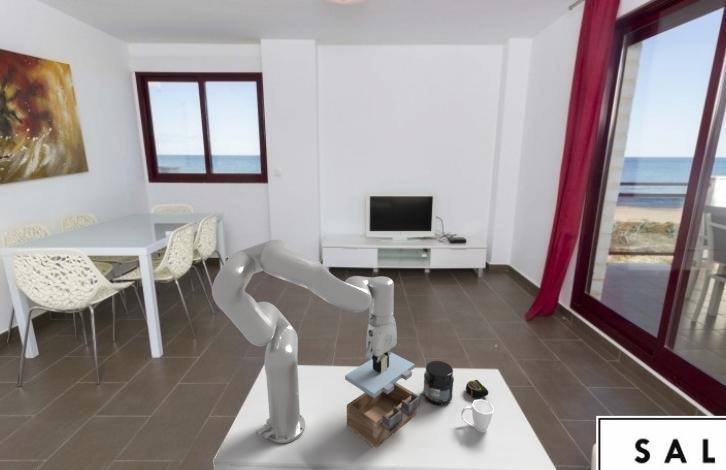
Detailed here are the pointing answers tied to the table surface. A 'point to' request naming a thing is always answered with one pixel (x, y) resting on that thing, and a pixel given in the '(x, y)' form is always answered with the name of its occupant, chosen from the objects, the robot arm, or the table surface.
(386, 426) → the cabinet
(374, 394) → the door
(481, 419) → the cup
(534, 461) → the table surface
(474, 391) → the tape measure
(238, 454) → the table surface
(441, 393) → the supplement container
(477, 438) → the table surface
